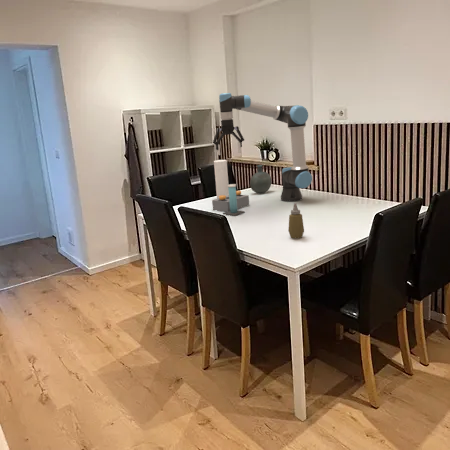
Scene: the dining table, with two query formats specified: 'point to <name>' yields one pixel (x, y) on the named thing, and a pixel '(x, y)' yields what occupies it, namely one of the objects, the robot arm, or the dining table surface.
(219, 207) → the block
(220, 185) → the cylinder container
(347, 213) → the dining table surface
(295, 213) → the squeeze bottle
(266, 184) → the flask
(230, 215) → the mat
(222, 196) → the plunger
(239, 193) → the plunger
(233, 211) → the block
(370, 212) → the dining table surface
